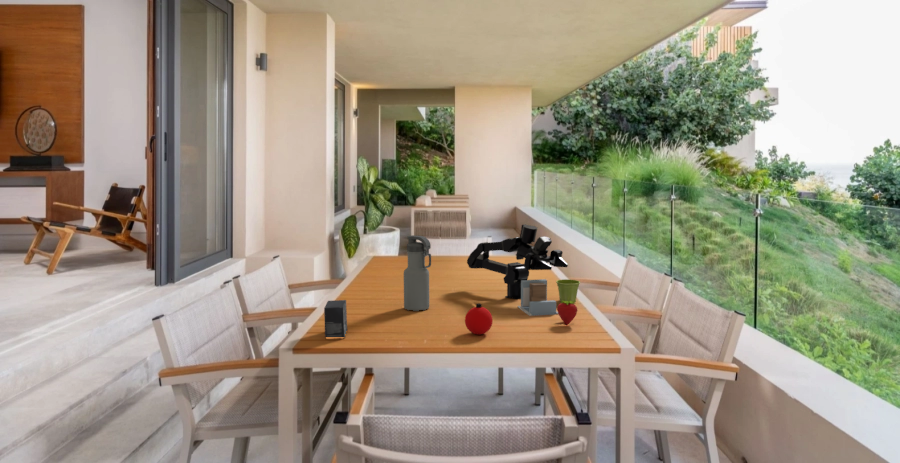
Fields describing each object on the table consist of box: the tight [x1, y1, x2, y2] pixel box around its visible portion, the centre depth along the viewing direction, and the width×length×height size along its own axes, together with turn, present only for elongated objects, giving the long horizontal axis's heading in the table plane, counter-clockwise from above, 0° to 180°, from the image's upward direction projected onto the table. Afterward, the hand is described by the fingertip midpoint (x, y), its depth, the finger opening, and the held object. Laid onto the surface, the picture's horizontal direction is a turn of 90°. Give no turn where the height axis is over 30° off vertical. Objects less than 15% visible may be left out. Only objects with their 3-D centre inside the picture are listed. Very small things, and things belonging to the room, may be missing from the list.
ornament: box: [464, 303, 494, 336], centre depth 199 cm, size 9×9×10 cm
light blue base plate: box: [517, 305, 559, 317], centre depth 228 cm, size 14×11×1 cm
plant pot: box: [555, 278, 581, 303], centre depth 244 cm, size 9×9×9 cm
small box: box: [323, 299, 348, 338], centre depth 199 cm, size 11×6×10 cm, turn 5°
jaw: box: [520, 278, 548, 307], centre depth 232 cm, size 2×10×10 cm, turn 102°
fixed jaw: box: [529, 299, 557, 316], centre depth 223 cm, size 2×10×4 cm, turn 101°
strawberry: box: [556, 299, 578, 326], centre depth 210 cm, size 6×8×10 cm
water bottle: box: [403, 235, 432, 312], centre depth 235 cm, size 10×10×28 cm
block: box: [530, 283, 546, 302], centre depth 228 cm, size 4×5×10 cm
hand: (559, 267), depth 236 cm, fingers open, 9 cm apart
